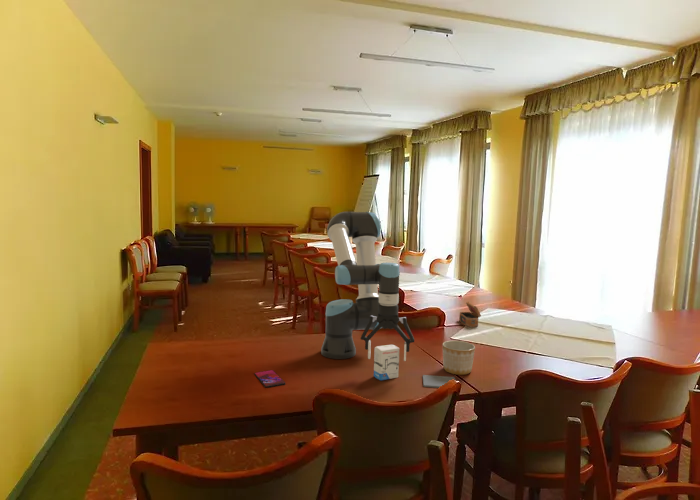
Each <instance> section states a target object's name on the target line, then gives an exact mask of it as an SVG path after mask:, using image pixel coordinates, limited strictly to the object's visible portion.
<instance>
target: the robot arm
mask: <svg viewBox="0 0 700 500" xmlns="http://www.w3.org/2000/svg"><path fill="white" fill-rule="evenodd" d="M381 229H382V228H381V221H380V218H379V216H378V214H377V213H375V212H370V211H342V212H339V213H336V214H335V215H333V216H332V218H331V219H330V220H329V222H328V224H327V228H326V231H327V232H326V234H327V237H328V239H329V240H330V241H331V243H332V244H331V245H332V247H333V250H334V251H333V252H334V254H335V259H336V261H337V266H336V267H335V269H334V278H335V283H336V284H337V285H343V286H344V285H345V286H350V285H351V286H352V285H354V286H355V285H356V286H357V287H358V296H356V297H357V298H355V302H354V301H353V300H352V299H349V298H347V299H346V298H345V299H344V298H343V299H336V300H332V301H329V302H328V303H327V304H326V306H325V314H324V315H325V337H324V340H323V342H322V346H321V349H320V350H321V351H320V353H321V355H322V356H323V357H324V358H328V359H334V360H346V359H350V358H353V357H355V356H356V353H357V349H356V345H355V341H354V338H353V331H357V330H358V331H359V330H360V331H363V332H362V334H361V336H360V340H362V341H365V342H364V344H365V346H364V348H365V350H367V359H368V360H371V351H372V350H371V349H372V347H371V345H372V341H371V339H372V338H373V336H374V335H376V333H378V331H380V329H390V330H392V329H394V330H395V331H396V332H397V333H398V334H399V336H400V337H401V338H402V339H403V341H404V342H403V344H404V345H403V346H404V347H403V348H404V349H403V362H406V361H407V353H409V352H410V344H411V343H415V338H414V335H413V332H412V331H411V329H410V328H411V327H409V324H408V322H407V321H408V320H407V316H403V317H399V305H398V304H399V301H400V300H399V299H400V298H399V297H400V296H399V291H400V265H399V264H398V263H396V262H380V263H377V261H376V249H375V243H376V242H377V241H378V238H379V237H380V236H381V233H382V232H381ZM350 238H351V241H350ZM351 242H352V243H353V244H354V245H355V250H356V251H355V252H356V257H355V253H354V250H353V247H352V244H351ZM399 322H400V323H401V324H403V327H404V328H405V332H406V333H407V335H408V336H407V335H406V333H405V332H403V330H402V329H401V327H400V326H399V325H398V323H399ZM369 330H371V332H370V333H369V334H368V335H367V333H368V331H369ZM408 337H409V338H408Z"/></svg>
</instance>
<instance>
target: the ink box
mask: <svg viewBox="0 0 700 500" xmlns="http://www.w3.org/2000/svg"><path fill="white" fill-rule="evenodd" d="M373 353H374V354H373V357H374V358H373V377H374V378H375V379H377V380H379V381H381V382H382V381H385V380H391V379H397V378H399V372H400V371H399V370H400V369H399V366H400V347H398V346H397V345H395V344H386V345H377V346H375V347H374V352H373Z"/></svg>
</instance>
